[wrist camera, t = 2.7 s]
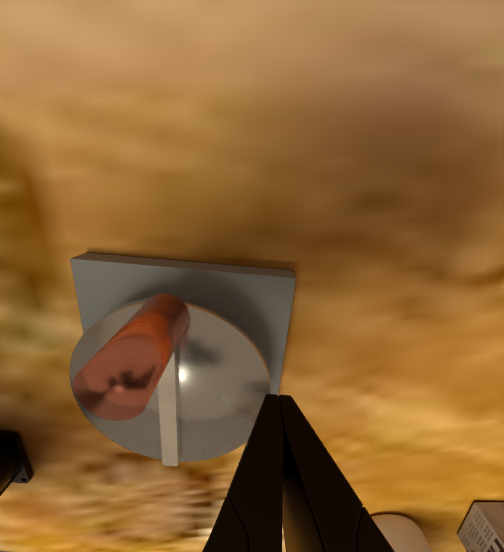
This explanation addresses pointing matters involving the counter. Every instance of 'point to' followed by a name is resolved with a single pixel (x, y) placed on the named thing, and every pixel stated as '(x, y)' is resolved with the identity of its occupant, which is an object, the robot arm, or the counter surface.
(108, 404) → the handwheel
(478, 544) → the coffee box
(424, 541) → the milk bottle
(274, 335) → the base plate
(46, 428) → the counter surface
